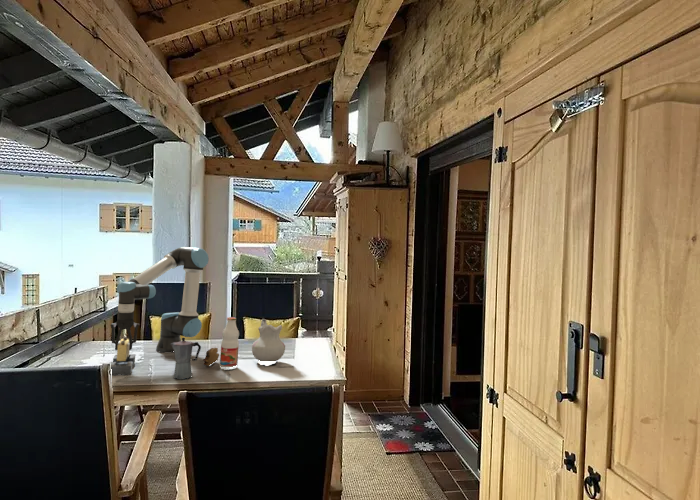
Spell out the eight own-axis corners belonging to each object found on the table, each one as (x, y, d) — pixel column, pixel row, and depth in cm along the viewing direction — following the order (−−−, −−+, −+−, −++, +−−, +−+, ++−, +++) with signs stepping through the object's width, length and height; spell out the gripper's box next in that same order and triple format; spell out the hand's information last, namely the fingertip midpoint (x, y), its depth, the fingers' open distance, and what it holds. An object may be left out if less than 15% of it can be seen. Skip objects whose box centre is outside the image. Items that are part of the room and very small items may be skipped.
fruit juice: (240, 367, 244) (243, 317, 244) (230, 371, 236) (233, 320, 235) (226, 364, 248) (230, 315, 248) (215, 368, 239) (219, 317, 239)
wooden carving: (211, 361, 252) (212, 344, 252) (219, 362, 252) (220, 345, 252) (200, 369, 236) (201, 351, 236) (209, 370, 236) (210, 351, 236)
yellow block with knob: (120, 353, 234) (121, 336, 234) (128, 353, 236) (130, 335, 236) (116, 361, 220) (118, 342, 220) (125, 360, 222) (126, 342, 222)
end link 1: (114, 362, 237) (115, 354, 237) (134, 362, 241) (135, 354, 241) (112, 367, 230) (113, 358, 230) (133, 366, 233) (134, 358, 233)
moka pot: (171, 373, 225) (173, 335, 225) (201, 374, 227) (204, 336, 227) (164, 379, 216) (167, 339, 216) (196, 380, 217) (199, 340, 217)
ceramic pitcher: (242, 362, 259) (242, 321, 257) (269, 355, 273) (269, 316, 271) (264, 371, 244) (264, 327, 242) (291, 363, 258) (292, 322, 256)
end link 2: (130, 374, 219) (131, 365, 219) (108, 375, 216) (108, 366, 216) (132, 370, 227) (132, 361, 227) (110, 371, 223) (111, 362, 223)
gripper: (106, 312, 221) (103, 358, 222) (143, 312, 228) (140, 357, 228) (108, 310, 228) (105, 354, 229) (144, 310, 235) (141, 353, 235)
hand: (123, 356), depth 228 cm, fingers closed on yellow block with knob, 4 cm apart
